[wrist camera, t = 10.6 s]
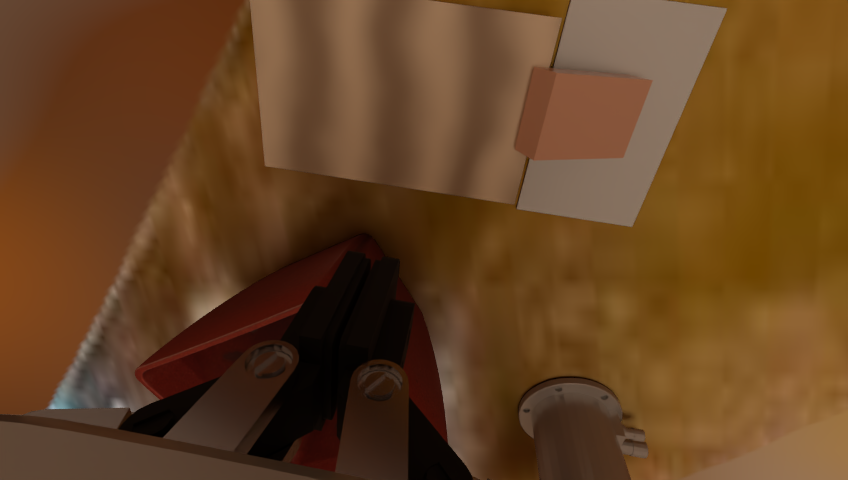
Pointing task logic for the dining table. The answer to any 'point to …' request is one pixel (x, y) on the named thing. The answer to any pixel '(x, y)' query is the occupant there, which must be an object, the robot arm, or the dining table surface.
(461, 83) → the board
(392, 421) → the robot arm
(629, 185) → the mat
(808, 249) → the dining table surface
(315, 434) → the plant pot
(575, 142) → the block
